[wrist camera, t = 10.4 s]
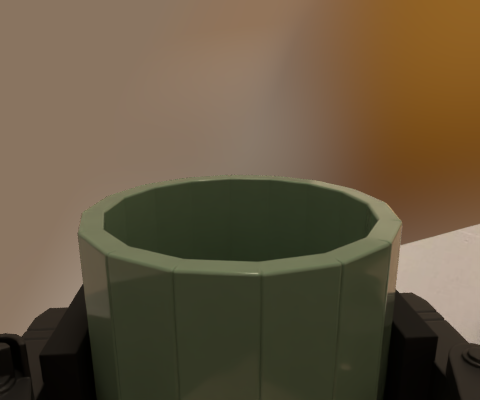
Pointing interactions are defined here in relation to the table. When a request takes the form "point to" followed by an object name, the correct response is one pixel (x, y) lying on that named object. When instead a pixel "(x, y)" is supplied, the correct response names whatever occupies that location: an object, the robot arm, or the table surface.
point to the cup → (239, 290)
